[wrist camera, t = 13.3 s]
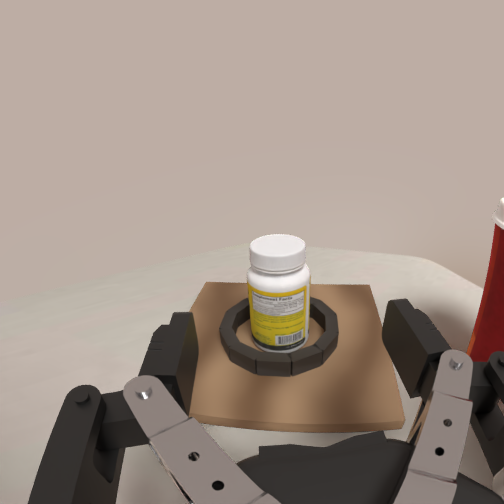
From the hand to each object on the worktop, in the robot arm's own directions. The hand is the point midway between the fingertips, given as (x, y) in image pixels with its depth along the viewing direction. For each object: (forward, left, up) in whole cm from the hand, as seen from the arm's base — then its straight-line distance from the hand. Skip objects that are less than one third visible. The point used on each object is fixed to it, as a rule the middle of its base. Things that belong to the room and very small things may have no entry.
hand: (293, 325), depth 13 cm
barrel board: (-2, +11, -10) cm, 15 cm away
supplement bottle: (-2, +11, -9) cm, 14 cm away
